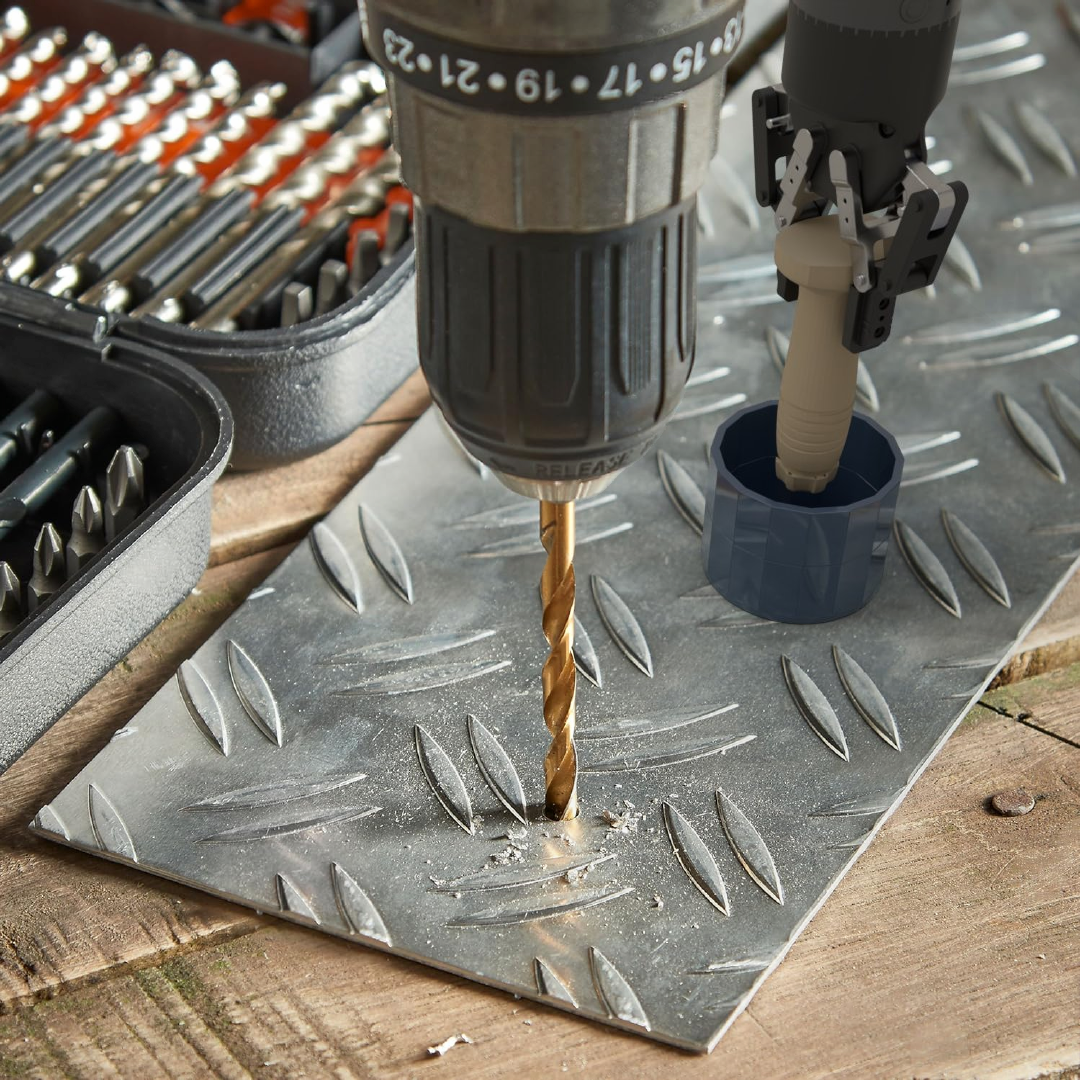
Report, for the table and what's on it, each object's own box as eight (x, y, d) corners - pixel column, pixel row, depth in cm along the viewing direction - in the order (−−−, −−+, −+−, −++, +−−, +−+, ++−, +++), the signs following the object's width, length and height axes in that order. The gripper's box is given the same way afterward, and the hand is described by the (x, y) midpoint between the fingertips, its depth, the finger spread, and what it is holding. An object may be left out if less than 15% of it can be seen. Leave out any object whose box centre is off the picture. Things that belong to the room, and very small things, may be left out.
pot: (721, 493, 94) (732, 385, 89) (891, 524, 92) (913, 416, 87) (684, 603, 87) (694, 492, 82) (869, 640, 84) (891, 528, 79)
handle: (732, 468, 86) (759, 229, 76) (831, 442, 88) (869, 205, 78) (775, 518, 83) (808, 275, 73) (877, 490, 85) (922, 249, 75)
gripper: (1054, 31, 64) (978, 370, 75) (846, -72, 74) (805, 242, 85) (912, 66, 62) (855, 412, 73) (715, -46, 71) (691, 275, 82)
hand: (828, 319), depth 79 cm, fingers closed on handle, 5 cm apart
